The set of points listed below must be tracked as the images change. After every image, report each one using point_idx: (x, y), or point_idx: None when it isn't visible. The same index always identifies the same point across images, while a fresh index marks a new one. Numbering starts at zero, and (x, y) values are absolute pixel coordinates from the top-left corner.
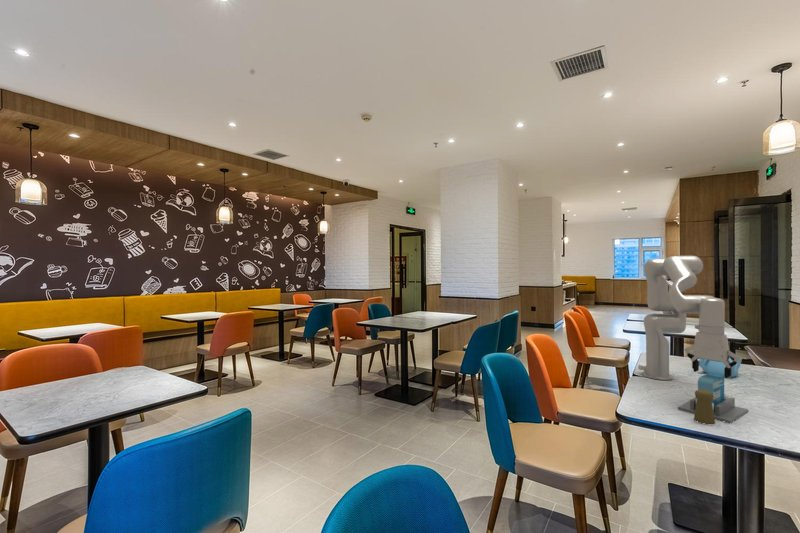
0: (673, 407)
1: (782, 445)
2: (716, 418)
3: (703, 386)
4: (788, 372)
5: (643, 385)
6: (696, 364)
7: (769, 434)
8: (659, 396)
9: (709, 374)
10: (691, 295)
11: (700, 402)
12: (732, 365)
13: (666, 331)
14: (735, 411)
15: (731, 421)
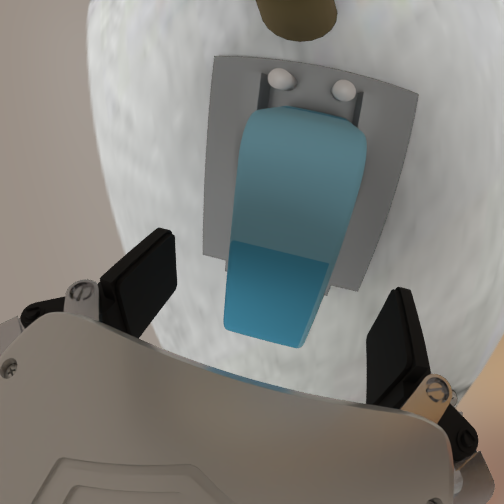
0: (431, 116)
1: (101, 11)
2: (265, 59)
3: (321, 119)
4: None
5: (486, 329)
6: (394, 353)
7: (125, 61)
8: (472, 242)
9: (296, 320)
10: None
11: None
12: (58, 301)
13: None
14: (224, 196)
15: (215, 65)
